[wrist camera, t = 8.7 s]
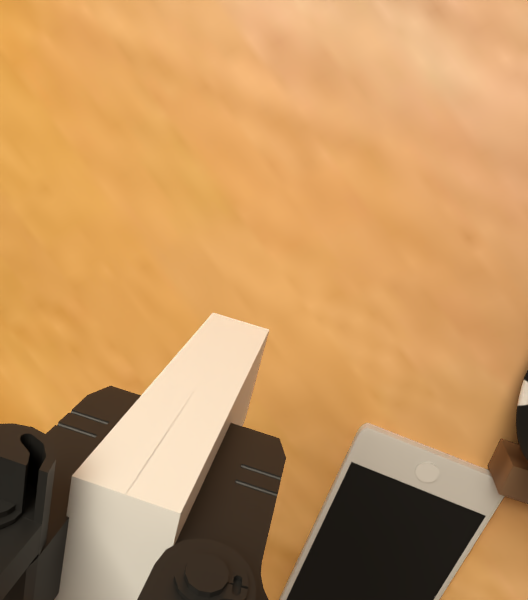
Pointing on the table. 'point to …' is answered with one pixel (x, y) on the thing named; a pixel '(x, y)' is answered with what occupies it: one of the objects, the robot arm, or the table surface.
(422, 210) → the table surface
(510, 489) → the walnut U-rest
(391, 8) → the table surface
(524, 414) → the beverage can
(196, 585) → the robot arm
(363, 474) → the smartphone
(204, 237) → the table surface
